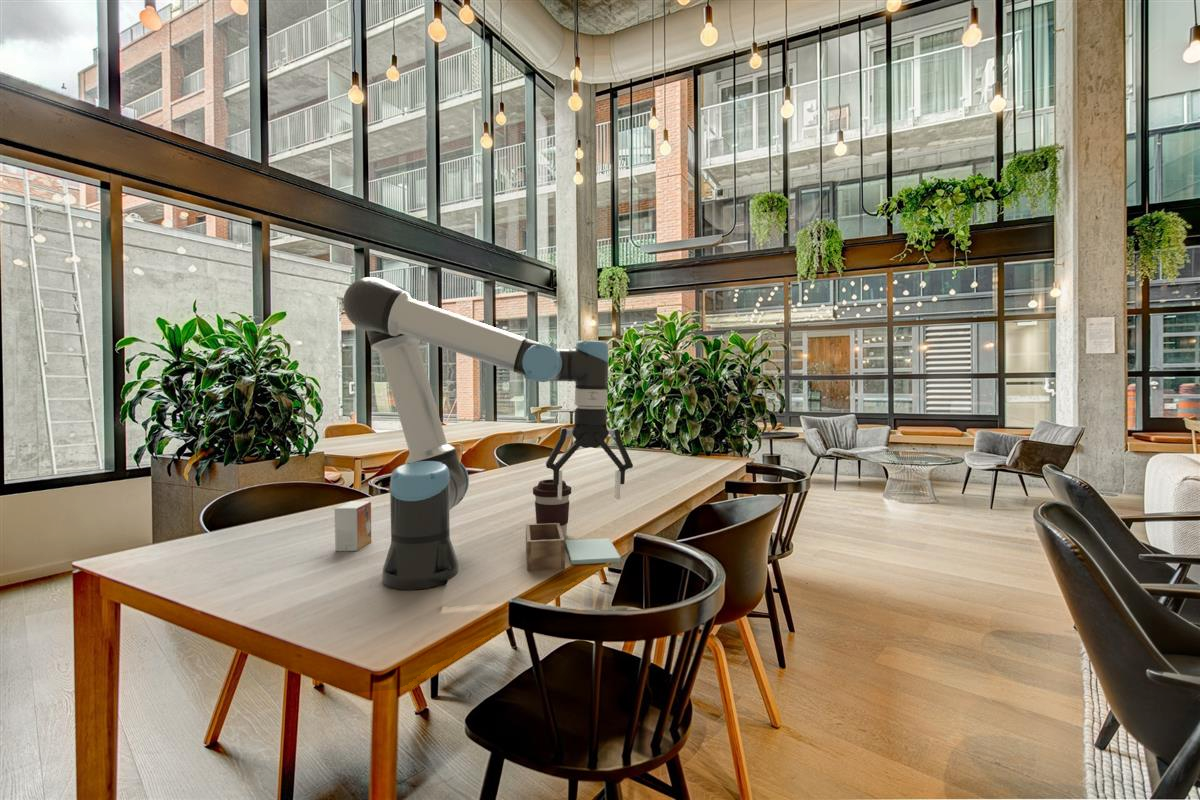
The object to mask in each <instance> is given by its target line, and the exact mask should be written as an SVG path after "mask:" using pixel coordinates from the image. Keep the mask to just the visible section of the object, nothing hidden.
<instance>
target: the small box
mask: <svg viewBox="0 0 1200 800" xmlns="http://www.w3.org/2000/svg"><path fill="white" fill-rule="evenodd" d="M371 542H372V502H371V501H363V500H362V501H361V500H358V501H356V500H355V501H354V500H353V501H352V500H351V501H348V502H347V503H344V504H343V505H340V506H338V507H335V508H334V546H335V547H334V549H335V550H334V551H335V552H357V551H359V550H361V549H362V548H364V547H366V546H367V545H368V544H370V543H371Z"/></svg>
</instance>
